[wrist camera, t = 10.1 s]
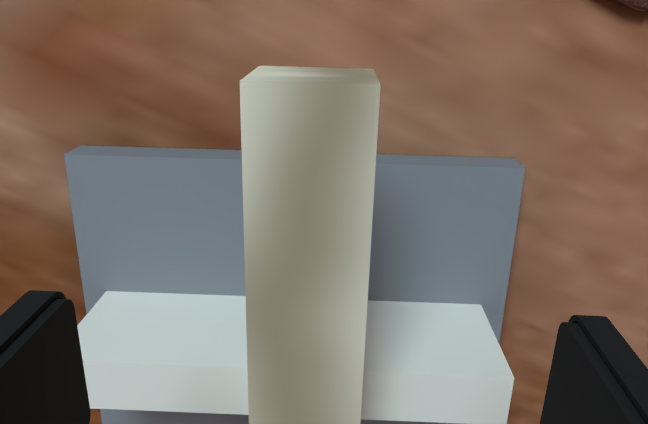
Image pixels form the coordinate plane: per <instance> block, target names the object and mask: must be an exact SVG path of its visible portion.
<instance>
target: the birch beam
mask: <svg viewBox="0 0 648 424" xmlns="http://www.w3.org/2000/svg"><path fill="white" fill-rule="evenodd" d="M379 100H380V83H379V81H378V78H377V76H376V74H375V71H374V69H355V68H321V67H287V66H258V67H257V68H256V69H255V70H253V71H252V72H251V73H249V74H248V75H247V76H245V77H244V78H243V79H242V80H240V109H241V146H242V184H243V221H244V258H245V296H246V333H247V371H248V408H249V424H360V422H361V405H362V388H363V371H364V354H365V337H366V320H367V303H368V286H369V269H370V252H371V236H372V219H373V202H374V185H375V168H376V151H377V134H378V117H379Z"/></svg>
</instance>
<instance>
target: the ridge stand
mask: <svg viewBox="0 0 648 424" xmlns="http://www.w3.org/2000/svg"><path fill="white" fill-rule="evenodd" d="M64 158H65V165H66V172H67V179H68V186H69V193H70V200H71V207H72V214H73V221H74V228H75V236H76V243H77V250H78V257H79V264H80V271H81V278H82V285H83V292H84V299H85V306H86V313H87V315H86V316H85V317H84V319H83V320H82V321H81V322H80V323H79V325H78V326H77V328H78V334H79V341H80V347H81V353H82V360H83V366H84V373H85V379H86V386H87V392H88V398H89V405H90V408H94V409H100V412H101V419H102V424H249V408H248V371H247V333H246V296H245V258H244V221H243V184H242V150H218V149H184V148H150V147H116V146H82V145H81V146H79V147H77V148H75V149H73V150H71V151H70V152H68V153H66V154H64ZM524 174H525V167H523V166H522V165H521V164H520V163H519V162H518V161H517V160H516V159H515V158H489V157H455V156H421V155H387V154H376V168H375V185H374V202H373V219H372V236H371V252H370V269H369V286H368V303H367V320H366V337H365V354H364V371H363V388H362V405H361V422H360V424H507V418H508V412H509V406H510V400H511V394H512V388H513V382H514V376H513V374H512V372H511V370H510V368H509V365H508V363H507V361H506V359H505V356H504V354H503V352H502V350H501V348H500V345H499V340H500V334H501V327H502V320H503V314H504V307H505V300H506V294H507V287H508V281H509V274H510V267H511V261H512V254H513V247H514V241H515V234H516V227H517V221H518V214H519V207H520V201H521V194H522V187H523V181H524Z"/></svg>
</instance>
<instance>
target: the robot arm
mask: <svg viewBox="0 0 648 424" xmlns="http://www.w3.org/2000/svg"><path fill="white" fill-rule="evenodd" d="M89 421H90V405H89V398H88V392H87V386H86V379H85V373H84V366H83V360H82V353H81V347H80V341H79V334H78V328H77V321H76V315H75V308H74V304H73V302H72V301H71V300H69V299H66V297H65V296H64V294H63V293H61V292H56V291H34V290H33V291H28V292H27V293H25V294H24V295H23V296H22V297H21V298H20V299H19V300H18V301H17V302H15V303H14V304H13V305H12V306H11V307H10V308H9V309H8V310H7V311H5V312H4V313H3V314H2V315H1V316H0V424H89ZM540 424H648V369H647V368H646V366H645V365H644V364H643V362H642V361H641V360H640V359H639V357H638V356H637V355H636V354H635V352H634V351H633V350H632V348H631V347H630V346H629V345H628V343H627V342H626V341H625V339H624V338H623V337H622V336H621V334H620V333H619V332H618V331H617V329H616V328H615V327H614V325H613V324H612V323H611V322H610V320H609V319H608V318H607V317H603V316H583V315H573V316H572V317H571V318H570V320H569V322H563V323H561V324H560V326H559V330H558V334H557V339H556V345H555V350H554V355H553V360H552V365H551V370H550V375H549V380H548V385H547V390H546V396H545V401H544V406H543V411H542V416H541V421H540Z"/></svg>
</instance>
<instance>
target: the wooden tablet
mask: <svg viewBox="0 0 648 424" xmlns="http://www.w3.org/2000/svg"><path fill="white" fill-rule="evenodd" d="M616 1H617V2H619V3H621V4H623V5H625V6H627V7H629V8H632V9H634V10H636V11H641V12H643V11H647V10H648V0H616Z"/></svg>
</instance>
